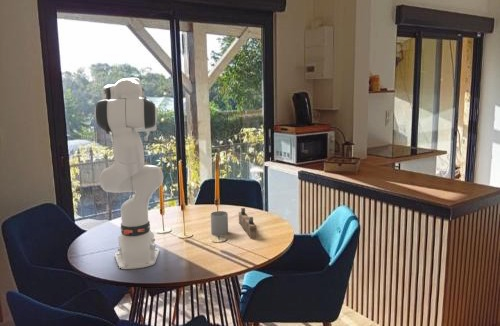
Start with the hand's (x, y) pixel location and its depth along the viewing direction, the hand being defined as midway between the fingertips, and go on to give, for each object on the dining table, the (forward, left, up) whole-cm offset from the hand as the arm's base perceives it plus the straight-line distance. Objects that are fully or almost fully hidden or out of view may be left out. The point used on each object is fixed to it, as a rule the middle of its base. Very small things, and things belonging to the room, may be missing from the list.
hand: (136, 141), depth 194 cm
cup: (-15, -37, -46) cm, 61 cm away
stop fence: (-15, -51, -46) cm, 70 cm away
